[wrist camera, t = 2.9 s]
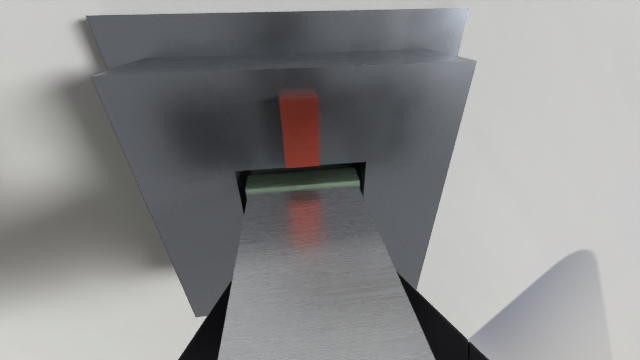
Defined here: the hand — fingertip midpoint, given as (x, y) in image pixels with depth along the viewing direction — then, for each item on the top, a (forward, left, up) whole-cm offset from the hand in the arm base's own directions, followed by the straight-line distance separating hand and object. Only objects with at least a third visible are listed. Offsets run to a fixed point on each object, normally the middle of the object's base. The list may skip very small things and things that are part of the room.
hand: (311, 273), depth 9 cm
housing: (0, 0, -7) cm, 7 cm away
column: (0, 0, -4) cm, 4 cm away
